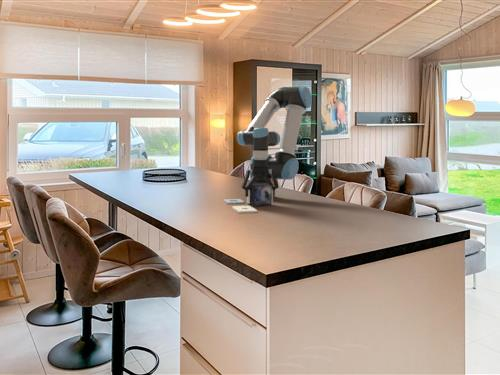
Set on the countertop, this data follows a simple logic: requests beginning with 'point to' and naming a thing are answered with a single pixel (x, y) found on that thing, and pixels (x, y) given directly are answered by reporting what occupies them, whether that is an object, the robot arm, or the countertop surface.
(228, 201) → the pad
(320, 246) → the countertop surface
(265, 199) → the small box
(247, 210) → the pad
